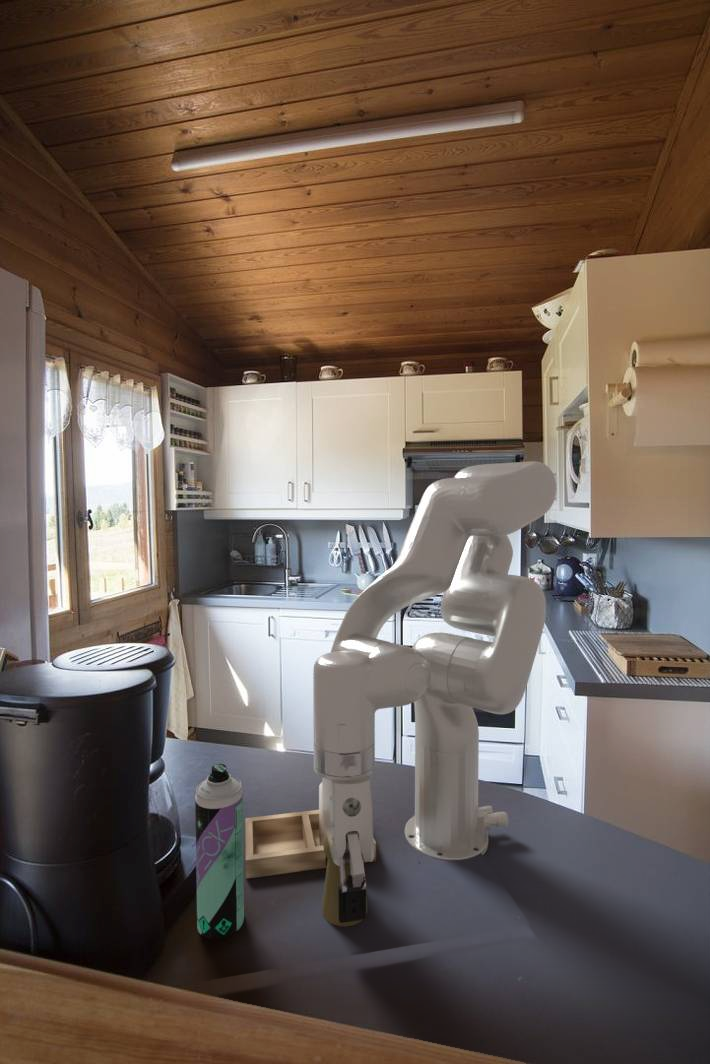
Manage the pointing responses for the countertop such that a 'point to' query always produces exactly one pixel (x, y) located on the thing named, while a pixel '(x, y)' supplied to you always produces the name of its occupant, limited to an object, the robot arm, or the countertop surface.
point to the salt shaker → (321, 818)
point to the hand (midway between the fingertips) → (344, 890)
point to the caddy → (284, 844)
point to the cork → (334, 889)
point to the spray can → (219, 854)
